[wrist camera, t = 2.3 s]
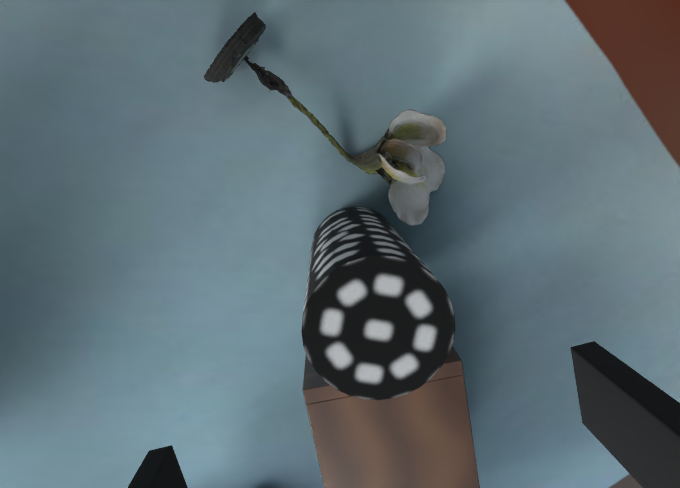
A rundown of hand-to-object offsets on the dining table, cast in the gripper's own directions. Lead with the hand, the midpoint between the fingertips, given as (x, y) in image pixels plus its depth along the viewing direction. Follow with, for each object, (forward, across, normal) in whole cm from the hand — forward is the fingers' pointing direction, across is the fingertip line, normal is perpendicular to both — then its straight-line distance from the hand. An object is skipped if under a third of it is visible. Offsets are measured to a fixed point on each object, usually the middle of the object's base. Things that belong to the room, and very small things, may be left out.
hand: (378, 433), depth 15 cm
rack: (+30, 0, -18) cm, 35 cm away
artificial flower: (+30, +3, +11) cm, 32 cm away
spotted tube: (+30, +1, -1) cm, 30 cm away
